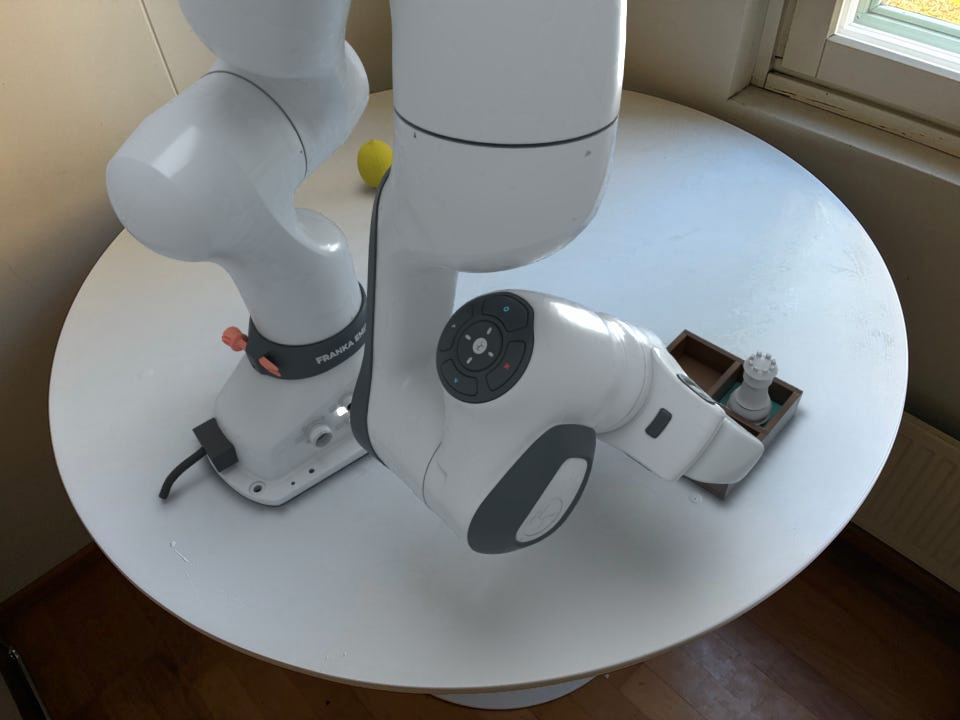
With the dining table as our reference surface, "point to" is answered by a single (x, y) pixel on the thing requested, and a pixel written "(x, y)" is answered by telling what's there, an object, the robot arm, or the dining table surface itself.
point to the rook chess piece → (754, 389)
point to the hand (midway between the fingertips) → (685, 394)
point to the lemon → (374, 161)
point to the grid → (731, 390)
